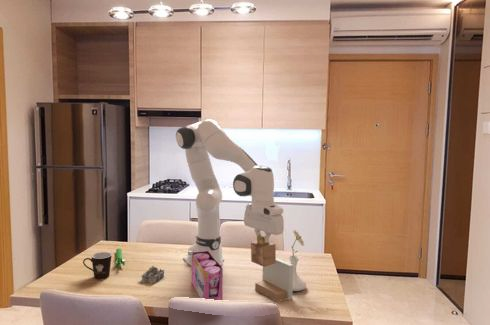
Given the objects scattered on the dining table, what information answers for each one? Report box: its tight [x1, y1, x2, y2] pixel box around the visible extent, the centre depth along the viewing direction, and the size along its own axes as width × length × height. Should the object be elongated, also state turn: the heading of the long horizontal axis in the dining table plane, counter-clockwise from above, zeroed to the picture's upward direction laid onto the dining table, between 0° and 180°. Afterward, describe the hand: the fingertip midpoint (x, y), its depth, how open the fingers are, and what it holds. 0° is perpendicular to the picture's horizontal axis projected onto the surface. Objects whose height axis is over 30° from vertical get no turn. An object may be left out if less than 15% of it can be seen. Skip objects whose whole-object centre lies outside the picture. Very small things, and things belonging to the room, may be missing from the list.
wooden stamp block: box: [250, 233, 277, 268], centre depth 149 cm, size 8×6×11 cm
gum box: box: [191, 251, 224, 301], centre depth 155 cm, size 24×8×14 cm, turn 21°
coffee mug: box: [82, 251, 112, 280], centre depth 169 cm, size 12×9×10 cm
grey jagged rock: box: [140, 265, 166, 284], centre depth 168 cm, size 11×8×4 cm
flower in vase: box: [287, 229, 307, 292], centre depth 162 cm, size 13×11×25 cm
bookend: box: [254, 257, 293, 303], centre depth 156 cm, size 16×7×14 cm, turn 40°
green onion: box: [114, 248, 126, 270], centre depth 188 cm, size 5×3×30 cm
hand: (262, 240), depth 149 cm, fingers closed on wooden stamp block, 2 cm apart
